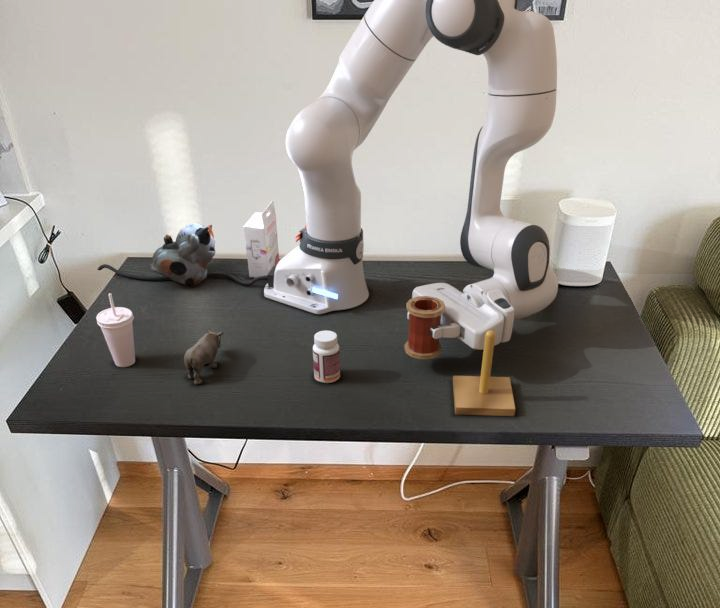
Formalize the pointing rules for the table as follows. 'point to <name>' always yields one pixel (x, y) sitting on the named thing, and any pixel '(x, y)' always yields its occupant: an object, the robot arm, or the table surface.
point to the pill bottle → (326, 357)
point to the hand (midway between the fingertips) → (420, 325)
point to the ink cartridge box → (261, 242)
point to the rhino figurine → (202, 354)
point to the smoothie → (118, 333)
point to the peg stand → (484, 389)
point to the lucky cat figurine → (185, 254)
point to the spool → (423, 326)
